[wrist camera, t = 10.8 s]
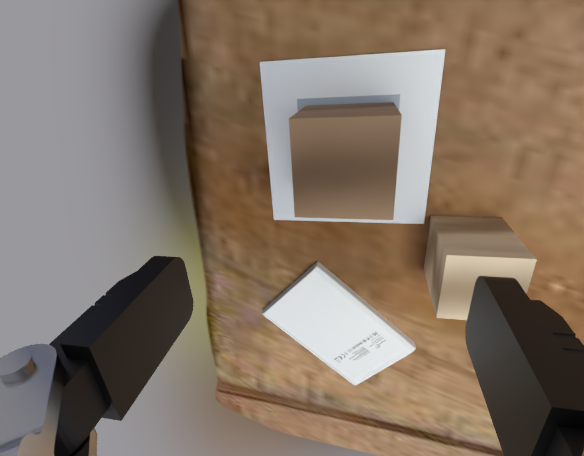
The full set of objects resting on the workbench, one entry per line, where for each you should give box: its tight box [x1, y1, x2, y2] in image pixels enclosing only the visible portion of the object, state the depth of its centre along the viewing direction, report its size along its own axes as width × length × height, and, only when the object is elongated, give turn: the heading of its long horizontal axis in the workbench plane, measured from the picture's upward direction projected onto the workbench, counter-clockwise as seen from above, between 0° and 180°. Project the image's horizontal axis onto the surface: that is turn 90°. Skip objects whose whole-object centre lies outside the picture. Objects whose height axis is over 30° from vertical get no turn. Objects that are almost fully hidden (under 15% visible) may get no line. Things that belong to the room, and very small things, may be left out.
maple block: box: [424, 216, 537, 320], centre depth 24 cm, size 5×5×6 cm
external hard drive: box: [262, 261, 416, 385], centre depth 33 cm, size 2×8×12 cm
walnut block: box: [289, 102, 402, 220], centre depth 22 cm, size 6×6×6 cm
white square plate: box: [260, 49, 445, 224], centre depth 25 cm, size 12×12×1 cm
